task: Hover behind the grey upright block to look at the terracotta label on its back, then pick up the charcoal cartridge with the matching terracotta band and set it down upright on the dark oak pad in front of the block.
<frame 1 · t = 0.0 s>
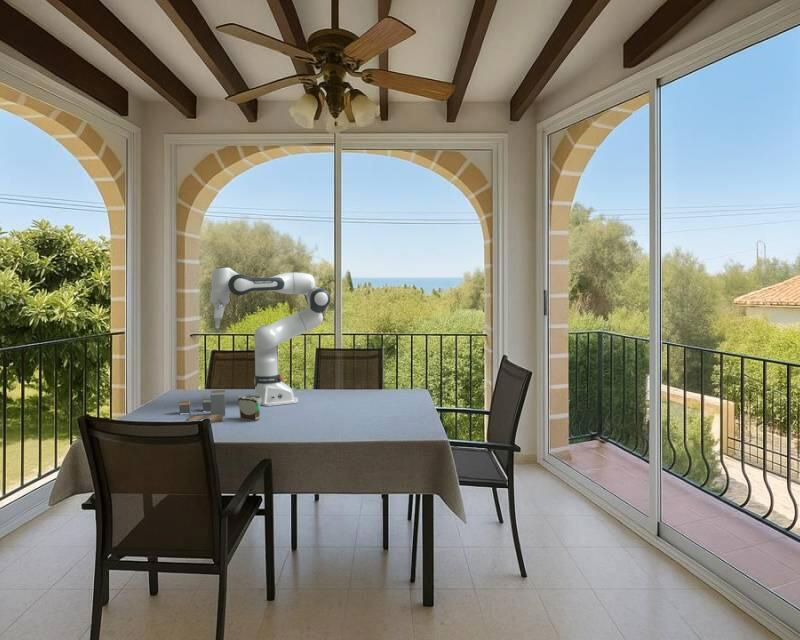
hand: (217, 327, 263), 39 cm above the table, tool pointing down, fingers open, 8 cm apart
grey upright block: (218, 414, 246), on the table
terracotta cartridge: (185, 413, 249), on the table
food container: (253, 419, 239), on the table
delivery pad: (205, 420, 236), on the table
grey cartridge: (208, 410, 255), on the table
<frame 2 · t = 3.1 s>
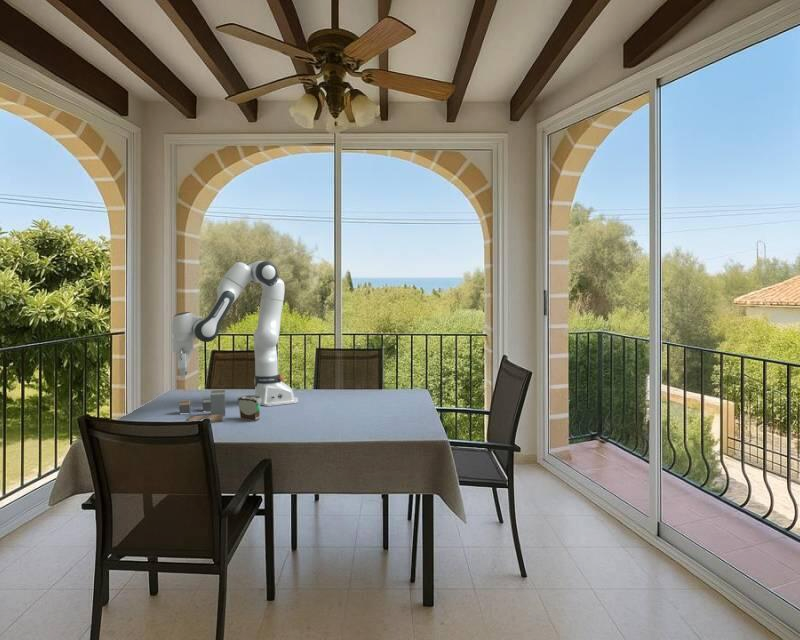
hand: (184, 376, 248), 17 cm above the table, tool pointing down, fingers open, 8 cm apart
nothing on the table moved.
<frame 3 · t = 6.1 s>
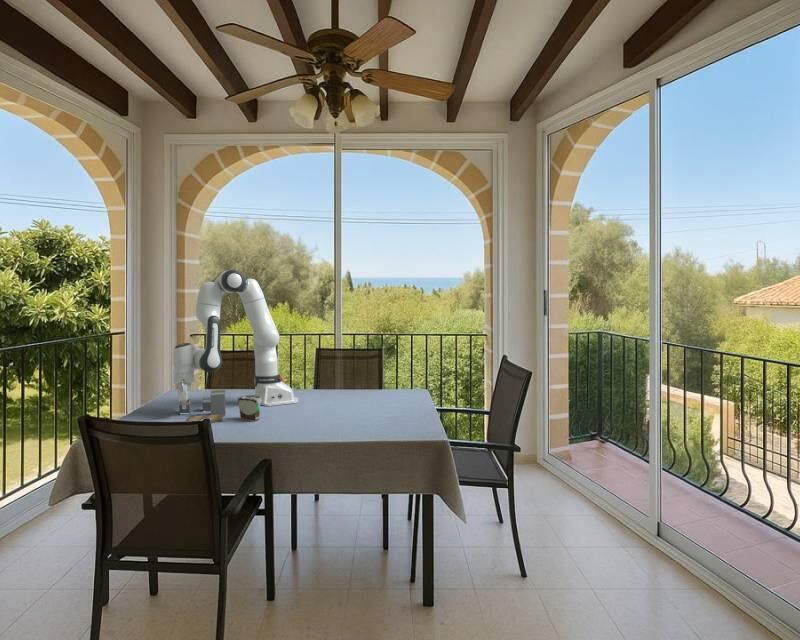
hand: (184, 407, 249), 3 cm above the table, tool pointing down, fingers closed on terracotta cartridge, 4 cm apart
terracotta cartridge: (185, 413, 249), on the table, touching gripper
everything else where it was.
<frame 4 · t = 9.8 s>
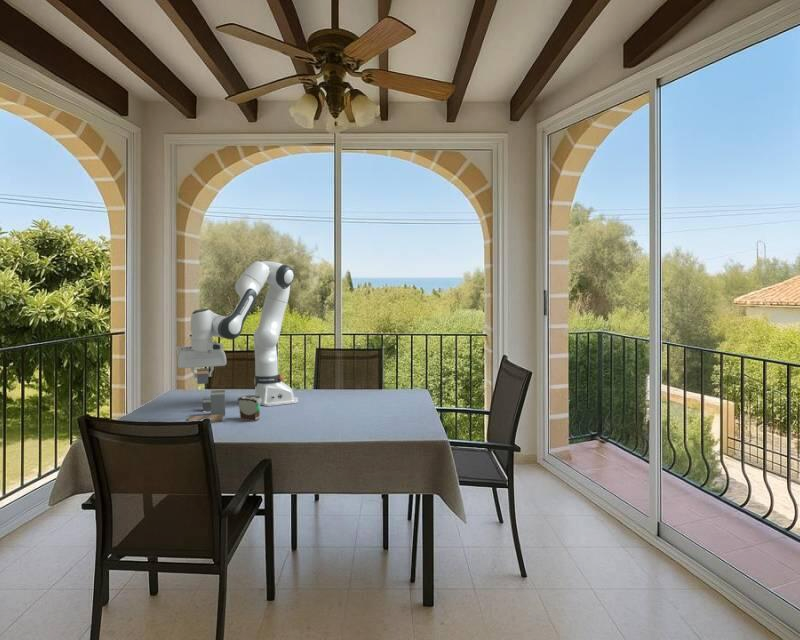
hand: (202, 377, 236), 19 cm above the table, tool pointing down, fingers closed on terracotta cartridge, 4 cm apart
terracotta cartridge: (202, 382, 236), point 17 cm above the table, touching gripper
everything else where it was.
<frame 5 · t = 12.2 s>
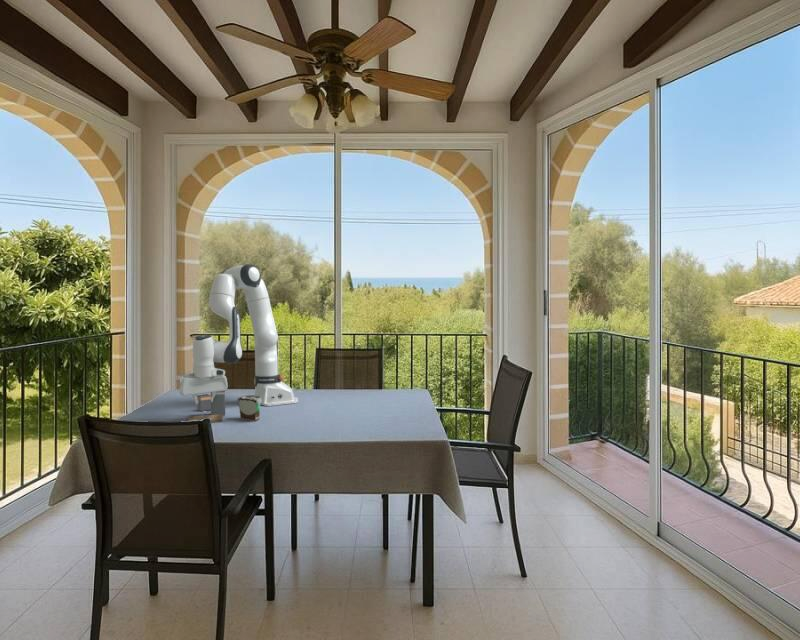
hand: (204, 403, 235), 8 cm above the table, tool pointing down, fingers closed on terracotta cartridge, 4 cm apart
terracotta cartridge: (204, 408, 235), point 5 cm above the table, touching gripper
everything else where it was.
when the fingers open (5 cm above the table, at t = 14.0 s): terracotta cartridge stays where it is, resting on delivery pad.
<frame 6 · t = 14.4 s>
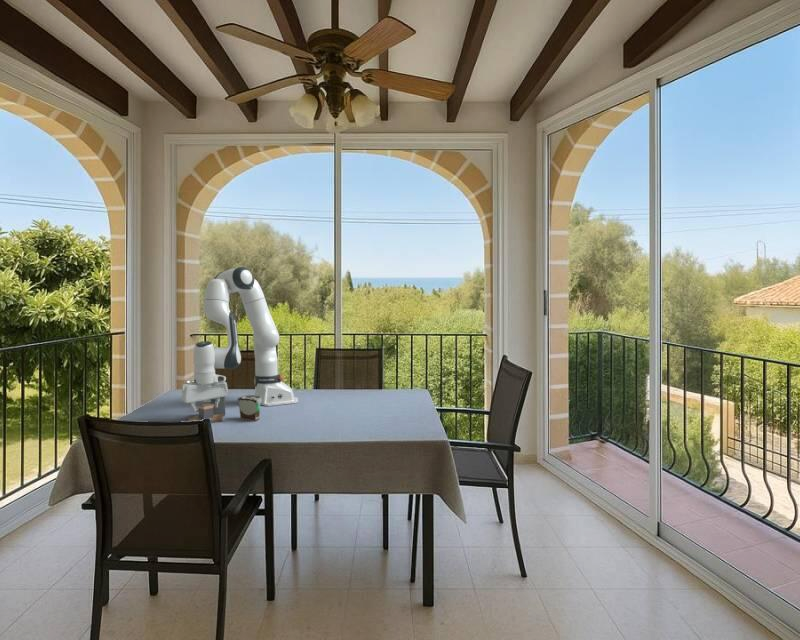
hand: (205, 409, 235), 5 cm above the table, tool pointing down, fingers open, 8 cm apart
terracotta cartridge: (206, 417, 236), point 1 cm above the table, touching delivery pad
everything else where it was.
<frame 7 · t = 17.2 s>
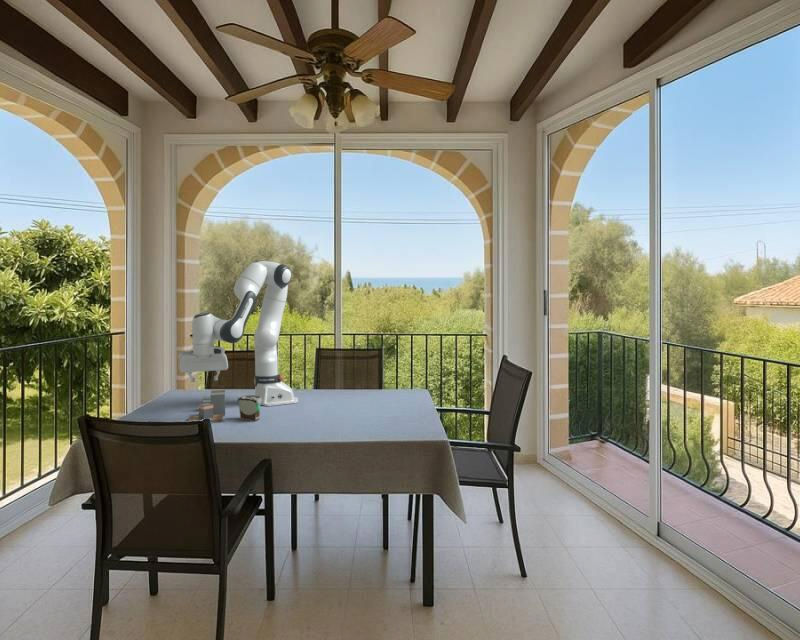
hand: (204, 381, 235), 17 cm above the table, tool pointing down, fingers open, 8 cm apart
nothing on the table moved.
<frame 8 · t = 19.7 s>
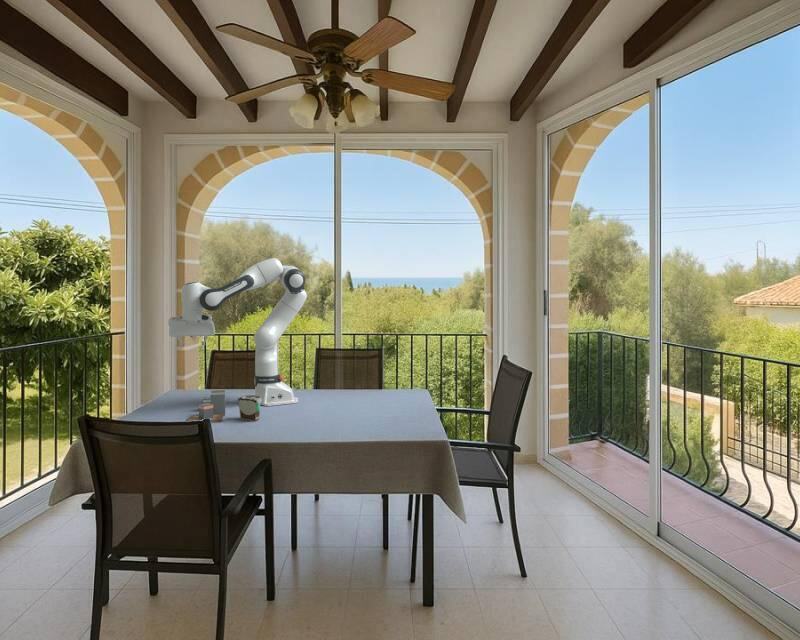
hand: (192, 345, 252), 31 cm above the table, tool pointing down, fingers open, 8 cm apart
nothing on the table moved.
at the end: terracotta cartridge inside the target area (0.2 cm from its centre), point 1.2 cm above the table; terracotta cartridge tilted 0°; the gripper is holding nothing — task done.
